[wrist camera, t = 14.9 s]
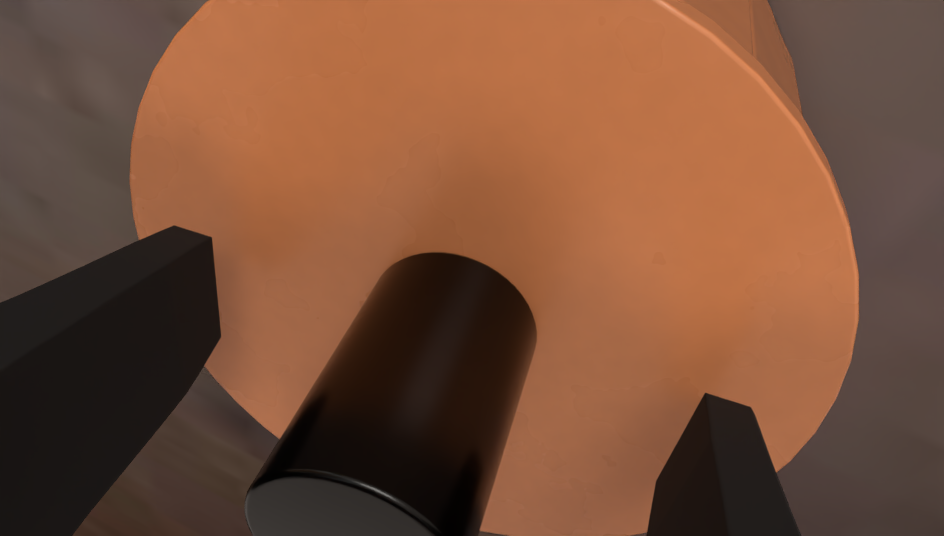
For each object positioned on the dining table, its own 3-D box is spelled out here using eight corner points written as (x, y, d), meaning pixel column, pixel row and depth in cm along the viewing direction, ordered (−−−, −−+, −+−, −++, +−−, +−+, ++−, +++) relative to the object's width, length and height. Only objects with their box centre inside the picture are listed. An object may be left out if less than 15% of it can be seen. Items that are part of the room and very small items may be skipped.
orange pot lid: (688, 557, 15) (672, 860, 11) (198, 390, 16) (28, 607, 12) (1042, 42, 8) (1361, 373, 4) (123, -183, 9) (-338, -104, 5)
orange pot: (689, 346, 19) (675, 569, 14) (330, 236, 20) (200, 405, 15) (891, -58, 13) (998, 90, 8) (346, -186, 14) (128, -130, 9)
